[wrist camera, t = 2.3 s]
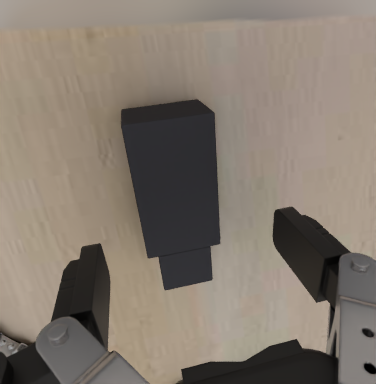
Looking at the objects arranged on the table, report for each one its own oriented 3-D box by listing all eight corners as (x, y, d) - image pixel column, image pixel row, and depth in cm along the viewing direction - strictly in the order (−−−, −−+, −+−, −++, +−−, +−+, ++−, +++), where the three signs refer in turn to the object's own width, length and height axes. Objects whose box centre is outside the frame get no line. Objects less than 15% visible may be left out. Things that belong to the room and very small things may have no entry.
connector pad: (198, 99, 19) (214, 112, 16) (208, 245, 25) (222, 278, 21) (121, 109, 18) (120, 125, 15) (150, 256, 24) (154, 293, 21)
